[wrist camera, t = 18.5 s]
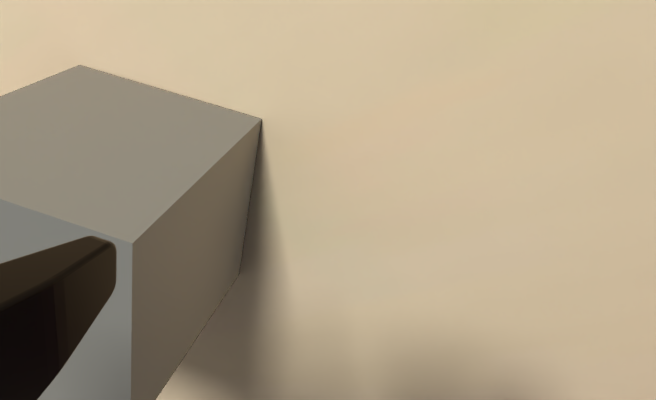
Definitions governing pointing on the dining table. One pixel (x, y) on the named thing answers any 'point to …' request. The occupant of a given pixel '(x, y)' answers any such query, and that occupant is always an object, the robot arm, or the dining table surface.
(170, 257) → the matte grey cube
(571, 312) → the dining table surface
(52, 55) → the dining table surface
